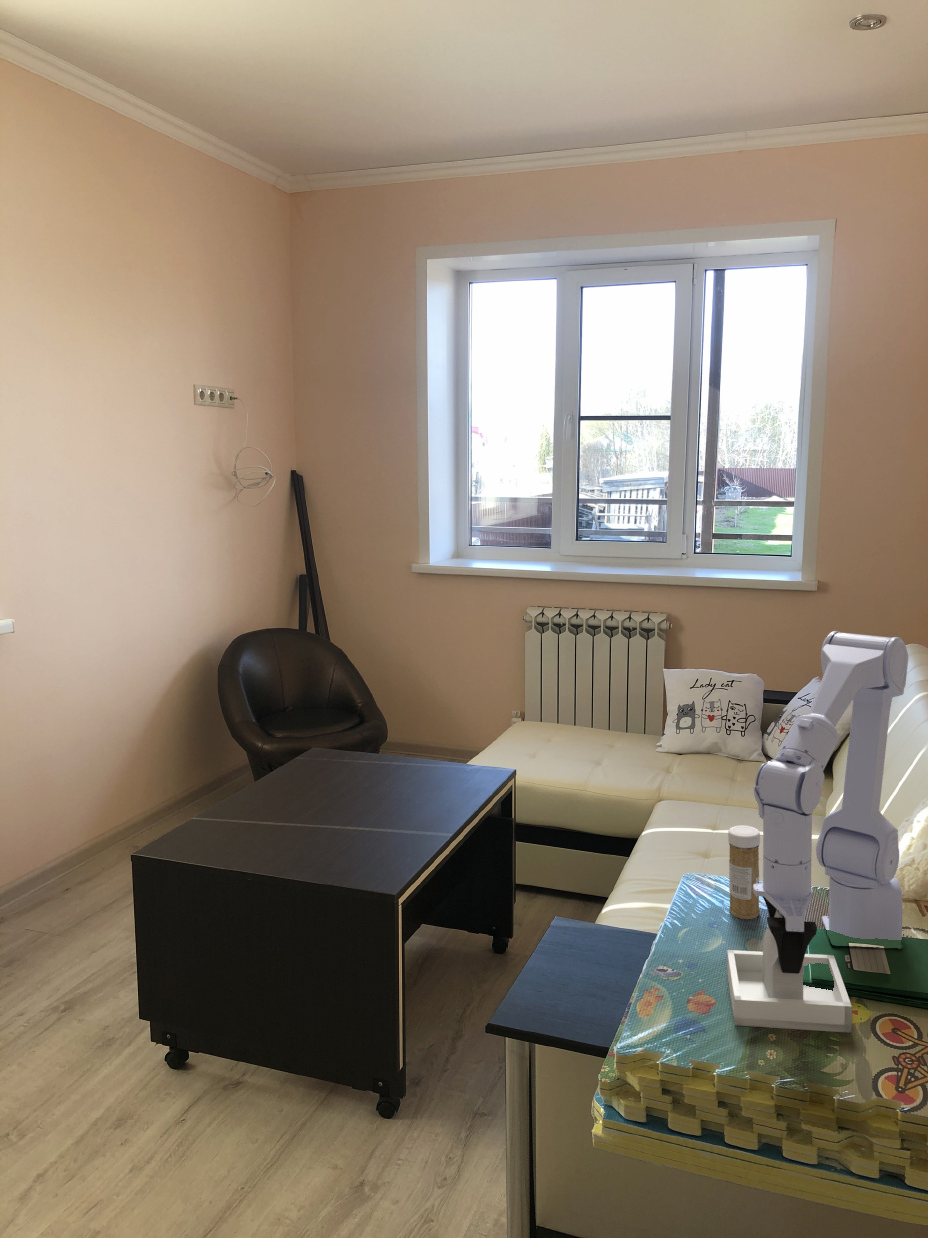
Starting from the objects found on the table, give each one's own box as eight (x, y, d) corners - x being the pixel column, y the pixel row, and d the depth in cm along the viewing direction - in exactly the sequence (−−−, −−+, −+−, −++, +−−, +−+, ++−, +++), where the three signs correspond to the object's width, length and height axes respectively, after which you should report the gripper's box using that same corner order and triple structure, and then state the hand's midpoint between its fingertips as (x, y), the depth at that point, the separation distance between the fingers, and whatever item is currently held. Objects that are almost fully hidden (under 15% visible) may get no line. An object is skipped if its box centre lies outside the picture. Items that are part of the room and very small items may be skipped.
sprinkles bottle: (766, 914, 143) (766, 830, 141) (745, 923, 141) (746, 839, 138) (742, 903, 147) (742, 821, 144) (722, 912, 144) (721, 829, 142)
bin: (833, 979, 125) (833, 955, 125) (851, 1032, 114) (851, 1006, 114) (727, 973, 128) (727, 950, 127) (734, 1025, 117) (734, 999, 116)
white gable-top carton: (772, 1009, 118) (772, 936, 116) (762, 979, 124) (762, 909, 123) (803, 1010, 117) (803, 936, 116) (791, 980, 124) (792, 909, 122)
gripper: (747, 831, 125) (747, 925, 128) (760, 880, 111) (759, 985, 114) (803, 832, 124) (802, 928, 126) (823, 883, 110) (821, 989, 112)
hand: (786, 955), depth 120 cm, fingers open, 7 cm apart
